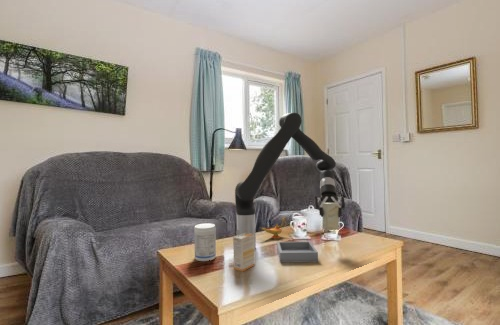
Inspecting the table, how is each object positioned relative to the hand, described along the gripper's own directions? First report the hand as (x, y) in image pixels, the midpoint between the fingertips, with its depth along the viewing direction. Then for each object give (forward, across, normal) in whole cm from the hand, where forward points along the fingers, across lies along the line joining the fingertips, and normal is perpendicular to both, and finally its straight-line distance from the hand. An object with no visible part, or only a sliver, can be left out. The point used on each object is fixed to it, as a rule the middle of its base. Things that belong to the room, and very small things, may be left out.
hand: (330, 215), depth 125 cm
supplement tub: (+22, -56, +3) cm, 60 cm away
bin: (+16, -16, +9) cm, 24 cm away
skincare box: (+4, 0, +6) cm, 7 cm away
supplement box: (+28, -37, -3) cm, 46 cm away
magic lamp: (-4, -29, +29) cm, 41 cm away
